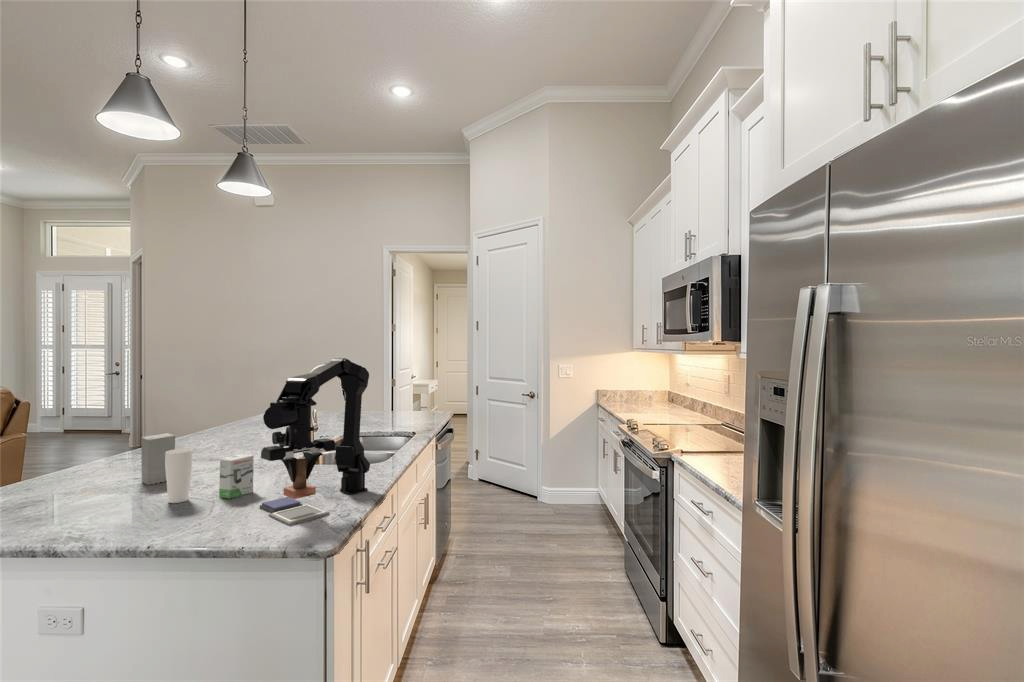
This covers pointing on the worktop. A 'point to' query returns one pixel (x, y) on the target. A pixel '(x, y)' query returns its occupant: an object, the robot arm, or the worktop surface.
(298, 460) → the stamp
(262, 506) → the ink pad
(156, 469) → the skincare box
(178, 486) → the drinking glass
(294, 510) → the marked board
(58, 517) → the worktop surface
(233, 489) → the ink box
